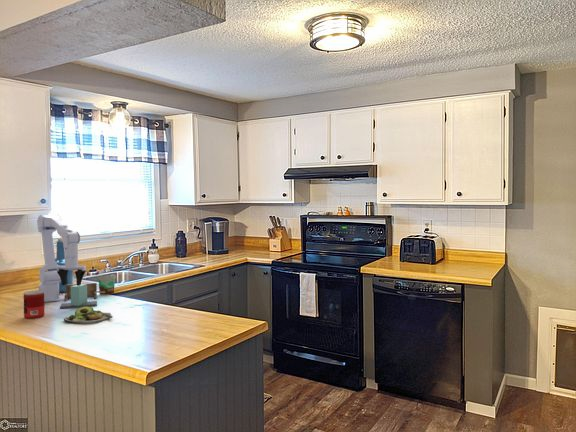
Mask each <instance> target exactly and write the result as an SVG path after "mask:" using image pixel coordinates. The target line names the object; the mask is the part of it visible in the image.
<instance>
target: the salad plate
mask: <svg viewBox="0 0 576 432" xmlns="http://www.w3.org/2000/svg"><path fill="white" fill-rule="evenodd" d="M110 318H114V317H113V316H112V313H111V312H104V311H101V310H98V309H97V310H94V307H93V306H92V307H90V306H84V307H78V308H77V309H75V311H74V314H71V315H69V316H65V317H63V321H64V322H65V323H67V324H74V325H75V324H76V325H77V324H78V325H88V324H96V323H97V324H98V323H101V322H103V321H104V322H105V321H106V320H109V319H110Z"/></svg>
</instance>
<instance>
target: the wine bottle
mask: <svg viewBox="0 0 576 432" xmlns="http://www.w3.org/2000/svg"><path fill="white" fill-rule="evenodd" d="M55 247H56V254H55V262H56V264H57V265H59V266H65V248H64V247H63V241H62V238H57V241H56V246H55ZM47 271H49V270H47ZM74 273H75V270H68V273H67V284H66V285H68V284H75V283H74V282H75V281H74V279H75V277H74ZM66 285H63V284H62V281H60V283H59V294H60V293H66Z"/></svg>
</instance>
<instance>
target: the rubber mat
mask: <svg viewBox="0 0 576 432" xmlns="http://www.w3.org/2000/svg"><path fill="white" fill-rule="evenodd" d="M97 305H98V301H97V300H91V301H87V302H86V303H84V304H81V305H79V306H78V305H71V302H65V303H64V302H61V304H60V306H59V310H62V309H76V308H77V309H78V308H81V307H84V306H90V307H92V308H93V307H97Z"/></svg>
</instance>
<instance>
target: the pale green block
mask: <svg viewBox="0 0 576 432" xmlns="http://www.w3.org/2000/svg"><path fill="white" fill-rule="evenodd" d="M86 302H88V297H87V284H85V283H81V285H79V286H77V285H74V286H71V298H70V303H71V305H78V306H79V305H81V304H84V303H86Z"/></svg>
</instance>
